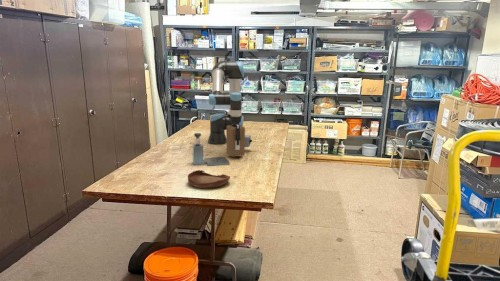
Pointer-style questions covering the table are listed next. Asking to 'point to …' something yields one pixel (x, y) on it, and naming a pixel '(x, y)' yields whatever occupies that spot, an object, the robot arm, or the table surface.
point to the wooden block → (231, 141)
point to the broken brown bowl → (206, 179)
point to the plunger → (197, 138)
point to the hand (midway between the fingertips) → (235, 147)
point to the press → (209, 161)
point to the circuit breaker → (247, 140)
